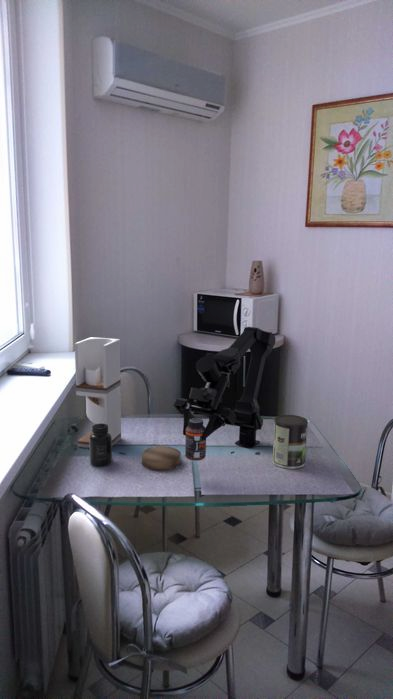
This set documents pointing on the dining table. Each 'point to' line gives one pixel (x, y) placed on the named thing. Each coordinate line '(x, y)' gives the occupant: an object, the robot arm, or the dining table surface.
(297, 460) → the coffee can
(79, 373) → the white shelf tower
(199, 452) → the supplement bottle
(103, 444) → the supplement bottle
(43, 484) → the dining table surface
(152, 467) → the walnut stand
